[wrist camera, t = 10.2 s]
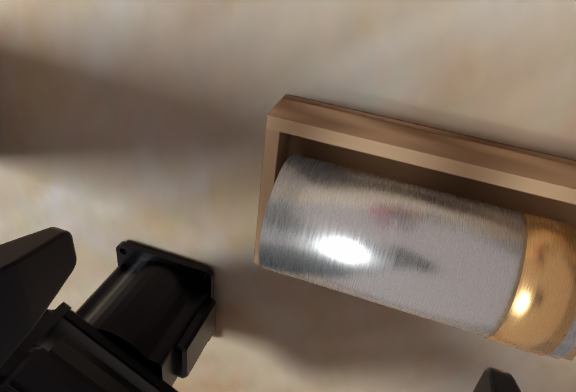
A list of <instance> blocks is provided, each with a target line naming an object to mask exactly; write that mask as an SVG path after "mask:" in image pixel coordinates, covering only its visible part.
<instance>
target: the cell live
mask: <svg viewBox="0 0 576 392" xmlns="http://www.w3.org/2000/svg"><path fill="white" fill-rule="evenodd" d="M259 264H260V266H261V267H262V268H265V269H268V270H271V271H275V272H278V273H281V274H284V275H287V276H291V277H294V278H297V279H300V280H303V281H307V282H310V283H313V284H316V285H320V286H323V287H326V288H329V289H332V290H336V291H339V292H342V293H345V294H349V295H352V296H355V297H358V298H361V299H365V300H368V301H371V302H374V303H378V304H381V305H384V306H387V307H390V308H394V309H397V310H400V311H403V312H406V313H410V314H413V315H416V316H419V317H423V318H426V319H429V320H432V321H435V322H439V323H442V324H445V325H448V326H452V327H455V328H458V329H461V330H464V331H468V332H471V333H474V334H477V335H481V336H484V338H486V339H489V340H492V341H495V342H499V343H502V344H505V345H508V346H512V347H515V348H518V349H521V350H524V351H528V352H531V353H534V354H537V355H542V356H544V355H545V356H548V357H551V358H556V359H558V358H562V357H564V356H566V355H567V354H569V353H570V352H571V351H572V350H573V349H574V348H575V347H576V225H574V224H570V223H567V222H563V221H559V220H555V219H551V218H547V217H543V216H539V215H535V214H531V213H528V212H524V211H515V210H511V209H507V208H503V207H499V206H495V205H491V204H487V203H484V202H480V201H476V200H472V199H468V198H464V197H460V196H456V195H452V194H449V193H445V192H441V191H437V190H433V189H429V188H425V187H421V186H417V185H414V184H410V183H406V182H402V181H398V180H394V179H390V178H386V177H382V176H379V175H375V174H371V173H367V172H363V171H359V170H355V169H351V168H347V167H344V166H340V165H336V164H332V163H328V162H324V161H320V160H316V159H312V158H308V157H305V156H301V155H297V154H292V155H290V156H289V157H288V159H287V160H286V162H285V163H284V165H283V167H282V168H281V170H280V173H279V175H278V177H277V179H276V182H275V184H274V187H273V190H272V192H271V195H270V198H269V202H268V205H267V208H266V212H265V216H264V220H263V225H262V229H261V235H260V242H259Z"/></svg>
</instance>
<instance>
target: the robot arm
mask: <svg viewBox="0 0 576 392" xmlns="http://www.w3.org/2000/svg"><path fill="white" fill-rule="evenodd" d="M116 252H117V260H118V267H117V268H116V269H115V270H114V272H113V273H112V274H111V275H110V276H109V277H108V278H107V279H106V280H105V281H104V282H103V283H102V284H101V285H100V287H99V288H98V289H97V290H96V291H95V292H94V293H93V294H92V295H91V296H90V297H89V298H88V299H87V300H86V302H85V303H84V304H83V305H82V306H81V307H80V308H79V309H78V310H77V311H76V312H74V311H72V310H71V307H70V306H69V305H67V304H66V303H65V302H63V303H62V304H60V305H59V306H58V307H57V308H56V309H55V310H54V309H53V310H48V309H47V308H48V306H49V305H50V303H51V302H52V301H53V299H54V298H55V296H56V295H57V293H58V292H59V290H60V289H61V287H62V286H63V284H64V283H65V281H66V280H67V278H68V277H69V275H70V274H71V273H72V271H73V269H74V267H75V265H76V253H75V248H74V243H73V238H72V235H71V234H70V232H68V231H66V230H62V229H59V228H56V227H50V228H47V229H44V230H41V231H38V232H35V233H33V234H30V235H27V236H24V237H21V238H18V239H15V240H13V241H10V242H7V243H4V244H1V245H0V392H178V391H177V390H175V389H174V388H173V387H172V385H173V384H174V382H175V380H176V379H177V377H180V378H185V377H187V376H188V375H189V373H190V371H191V370H192V368H193V366H194V365H195V363H196V361H197V359H198V358H199V356H200V354H201V352H202V351H203V349H204V347H205V346H206V344H207V342H208V341H209V340H210V339H211V337H212V333H213V332H214V330H215V327H216V301H215V299H213V295H214V273H213V271H212V270H211V269H210V268H208V267H205V266H202V265H199V264H196V263H192V262H189V261H186V260H183V259H180V258H177V257H173V256H170V255H167V254H164V253H161V252H157V251H154V250H151V249H148V248H145V247H141V246H138V245H135V244H132V243H129V242H125V241H123V242H121V243H120V244H119V245H118V246H117V247H116ZM205 275H206V276H205ZM473 392H521V391H520V389H519V387H518V385H517V383H516V382H515V380H514V378H513V377H512V375H510V374H509V373H507V372H504V371H501V370H498V369H495V368H491V367H489V368H487V369H486V370H485V371H484V373H483V375H482V376H481V378H480V380H479V382H478V384H477V385H476V387H475V389H474V391H473Z"/></svg>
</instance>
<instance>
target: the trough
mask: <svg viewBox="0 0 576 392" xmlns="http://www.w3.org/2000/svg"><path fill="white" fill-rule="evenodd" d="M292 154H297V155H301V156H305V157H308V158H312V159H316V160H320V161H324V162H328V163H332V164H336V165H340V166H344V167H347V168H351V169H355V170H359V171H363V172H367V173H371V174H375V175H379V176H382V177H386V178H390V179H394V180H398V181H402V182H406V183H410V184H414V185H417V186H421V187H425V188H429V189H433V190H437V191H441V192H445V193H449V194H452V195H456V196H460V197H464V198H468V199H472V200H476V201H480V202H484V203H487V204H491V205H495V206H499V207H503V208H507V209H511V210H515V211H524V212H528V213H531V214H535V215H539V216H543V217H547V218H551V219H555V220H559V221H563V222H567V223H570V224H574V225H576V161H574V160H569V159H565V158H560V157H556V156H552V155H547V154H543V153H539V152H534V151H530V150H526V149H521V148H517V147H513V146H508V145H504V144H500V143H495V142H491V141H486V140H482V139H478V138H473V137H469V136H465V135H460V134H456V133H452V132H447V131H443V130H439V129H434V128H430V127H426V126H421V125H417V124H412V123H408V122H404V121H399V120H395V119H391V118H386V117H382V116H378V115H373V114H369V113H365V112H360V111H356V110H352V109H347V108H343V107H338V106H334V105H330V104H325V103H321V102H317V101H312V100H308V99H304V98H299V97H295V96H291V95H285V96H284V97H283V98H282V99H281V100H280V102H279V103H278V104H277V105H276V106H275V107H274V108H273V109H272V110H271V112H270V113H269V114H268V115H267V123H266V133H265V144H264V155H263V166H262V177H261V188H260V198H259V209H258V220H257V231H256V242H255V253H254V264H257V265H260V264H259V242H260V235H261V229H262V225H263V220H264V216H265V212H266V208H267V205H268V202H269V198H270V195H271V192H272V190H273V187H274V184H275V182H276V179H277V177H278V175H279V173H280V170H281V168H282V167H283V165H284V163H285V162H286V160H287V159H288V157H289V156H290V155H292ZM575 356H576V347H575V348H574V349H573V350H572V351H571V352H570V353H569V354H567V355H566V356H564V357H562V358H565V359H568V360H571V361H572V360H573V359H574V357H575Z"/></svg>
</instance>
